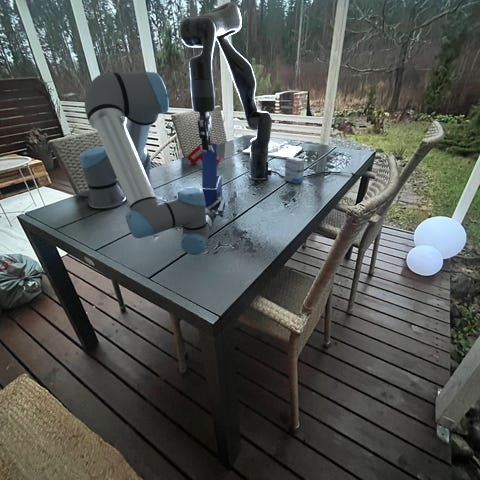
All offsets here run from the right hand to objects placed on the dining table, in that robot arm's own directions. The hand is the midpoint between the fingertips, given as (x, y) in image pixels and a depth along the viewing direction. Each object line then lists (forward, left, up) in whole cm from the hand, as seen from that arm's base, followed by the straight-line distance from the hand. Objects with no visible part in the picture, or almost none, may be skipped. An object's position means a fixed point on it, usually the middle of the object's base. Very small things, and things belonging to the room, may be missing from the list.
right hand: (206, 147), depth 98 cm
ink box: (-42, -34, -27) cm, 60 cm away
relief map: (-42, -94, -27) cm, 106 cm away
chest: (-1, -8, -27) cm, 28 cm away
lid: (0, -4, -8) cm, 9 cm away
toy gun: (+6, -67, -27) cm, 73 cm away
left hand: (0, -4, -20) cm, 21 cm away
